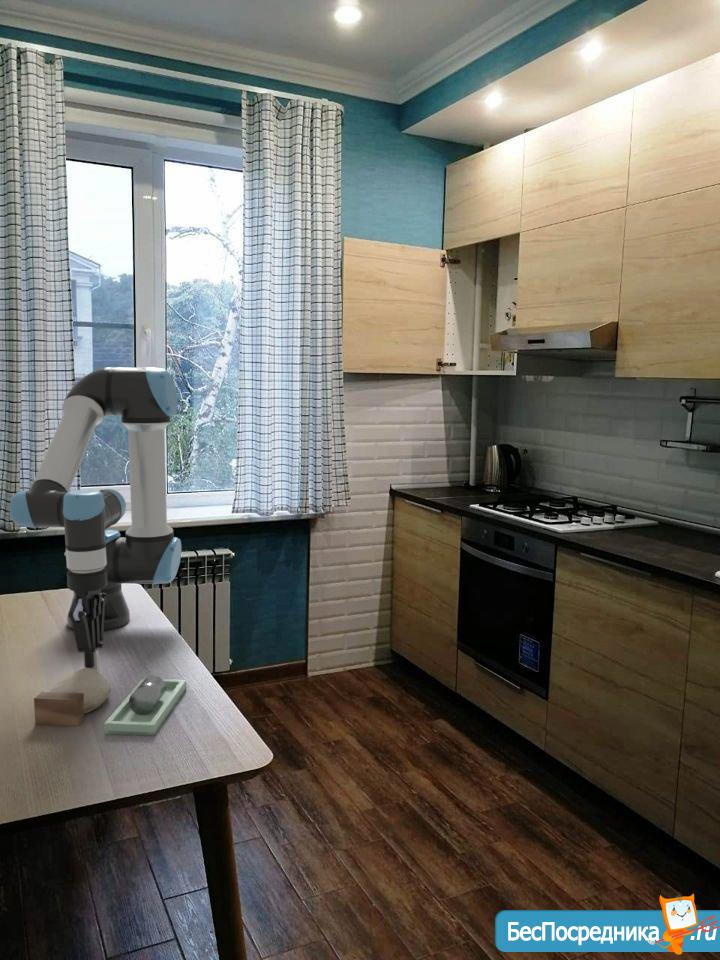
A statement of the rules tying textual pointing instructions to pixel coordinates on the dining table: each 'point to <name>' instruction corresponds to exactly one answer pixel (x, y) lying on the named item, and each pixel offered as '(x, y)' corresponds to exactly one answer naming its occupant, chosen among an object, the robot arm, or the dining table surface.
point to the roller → (147, 695)
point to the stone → (85, 687)
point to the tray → (149, 723)
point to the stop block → (59, 708)
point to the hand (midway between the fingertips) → (92, 680)
